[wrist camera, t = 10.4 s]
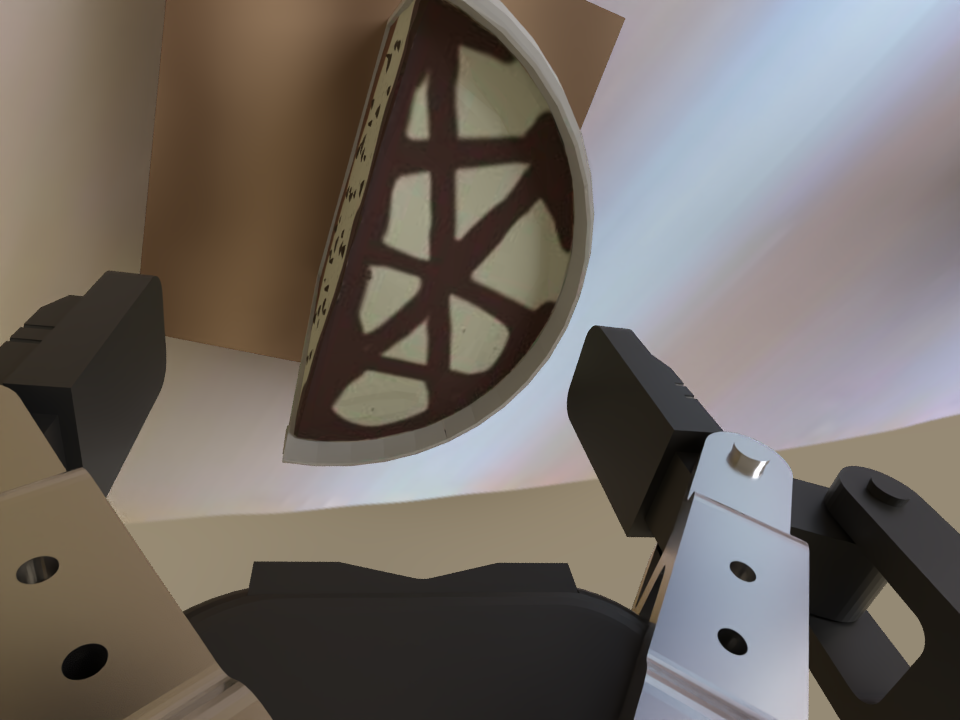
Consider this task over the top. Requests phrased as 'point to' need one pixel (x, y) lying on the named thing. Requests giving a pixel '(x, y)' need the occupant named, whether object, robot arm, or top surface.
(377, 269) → the food container
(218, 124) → the walnut block
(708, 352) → the top surface
